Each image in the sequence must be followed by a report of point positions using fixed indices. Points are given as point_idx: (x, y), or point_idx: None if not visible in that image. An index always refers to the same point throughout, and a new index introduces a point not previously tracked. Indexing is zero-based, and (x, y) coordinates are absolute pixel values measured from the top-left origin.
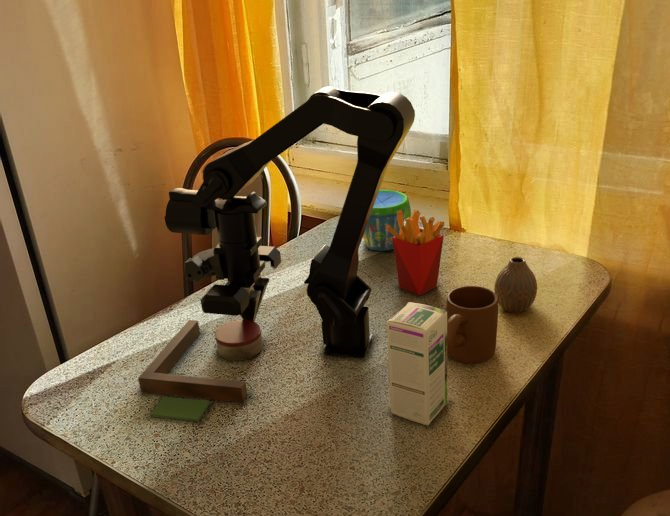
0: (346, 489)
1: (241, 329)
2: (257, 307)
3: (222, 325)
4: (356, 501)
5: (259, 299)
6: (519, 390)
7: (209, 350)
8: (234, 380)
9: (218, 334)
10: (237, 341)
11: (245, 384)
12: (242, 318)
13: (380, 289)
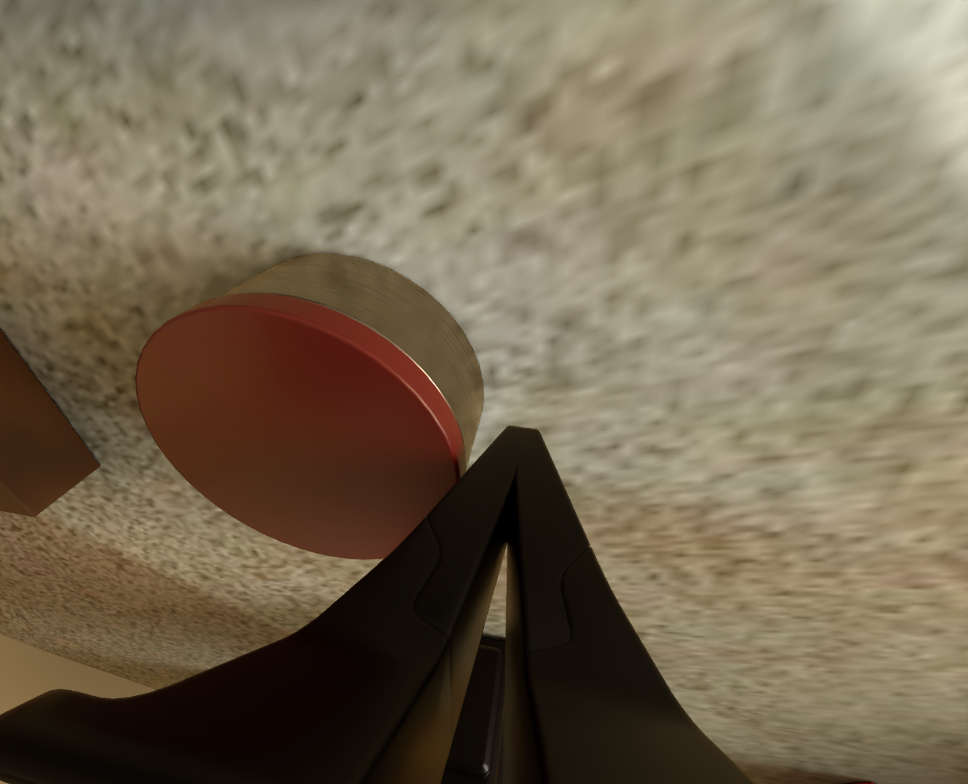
0: (46, 617)
1: (325, 478)
2: (506, 621)
3: (326, 338)
4: (40, 623)
5: (504, 720)
6: None
7: (275, 189)
8: (3, 485)
9: (193, 346)
10: (196, 477)
11: (42, 508)
12: (476, 461)
13: (884, 756)
